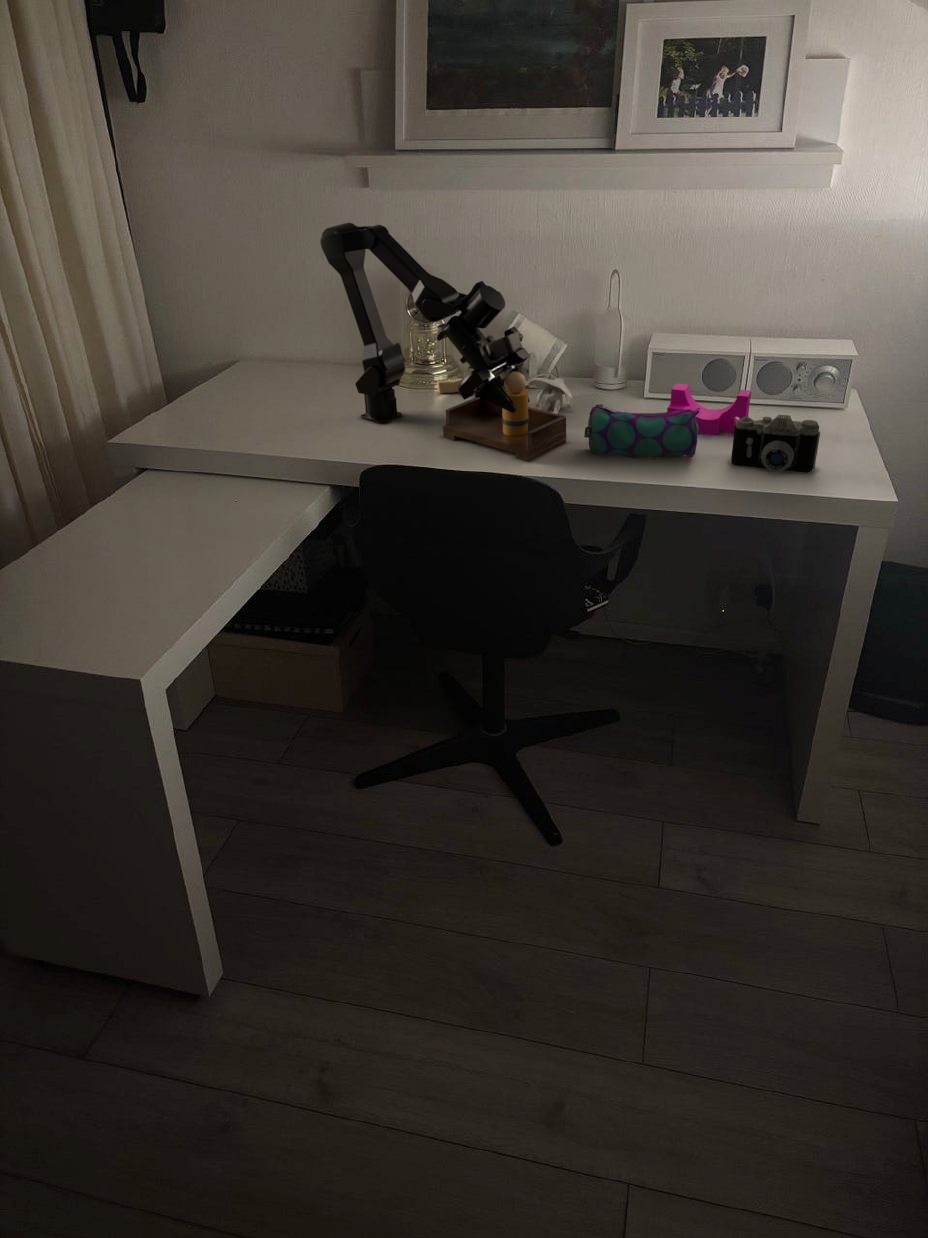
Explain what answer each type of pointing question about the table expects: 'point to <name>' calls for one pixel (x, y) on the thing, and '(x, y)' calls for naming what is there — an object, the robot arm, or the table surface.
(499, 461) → the table surface
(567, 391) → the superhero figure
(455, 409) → the wooden desk tray
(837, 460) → the table surface
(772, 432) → the camera
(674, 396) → the toy block
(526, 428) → the doll
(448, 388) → the toy figure
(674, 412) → the pencil case
